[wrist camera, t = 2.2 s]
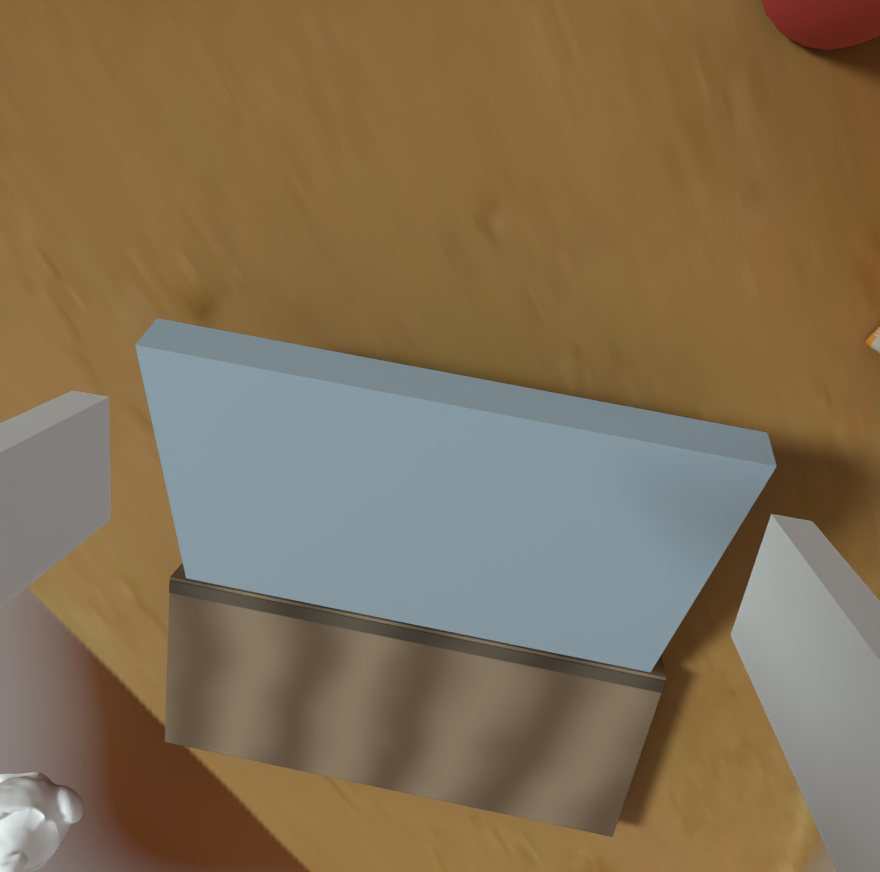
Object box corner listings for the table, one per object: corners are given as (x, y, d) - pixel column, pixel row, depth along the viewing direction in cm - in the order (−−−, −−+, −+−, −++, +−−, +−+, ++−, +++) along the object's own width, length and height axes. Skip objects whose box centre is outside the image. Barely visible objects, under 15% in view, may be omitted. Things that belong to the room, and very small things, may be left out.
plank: (200, 550, 42) (186, 578, 40) (157, 318, 31) (135, 345, 29) (648, 640, 41) (650, 672, 39) (767, 432, 30) (776, 466, 28)
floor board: (179, 718, 47) (164, 742, 45) (185, 559, 42) (169, 577, 40) (608, 809, 45) (612, 837, 44) (660, 654, 41) (666, 678, 39)
